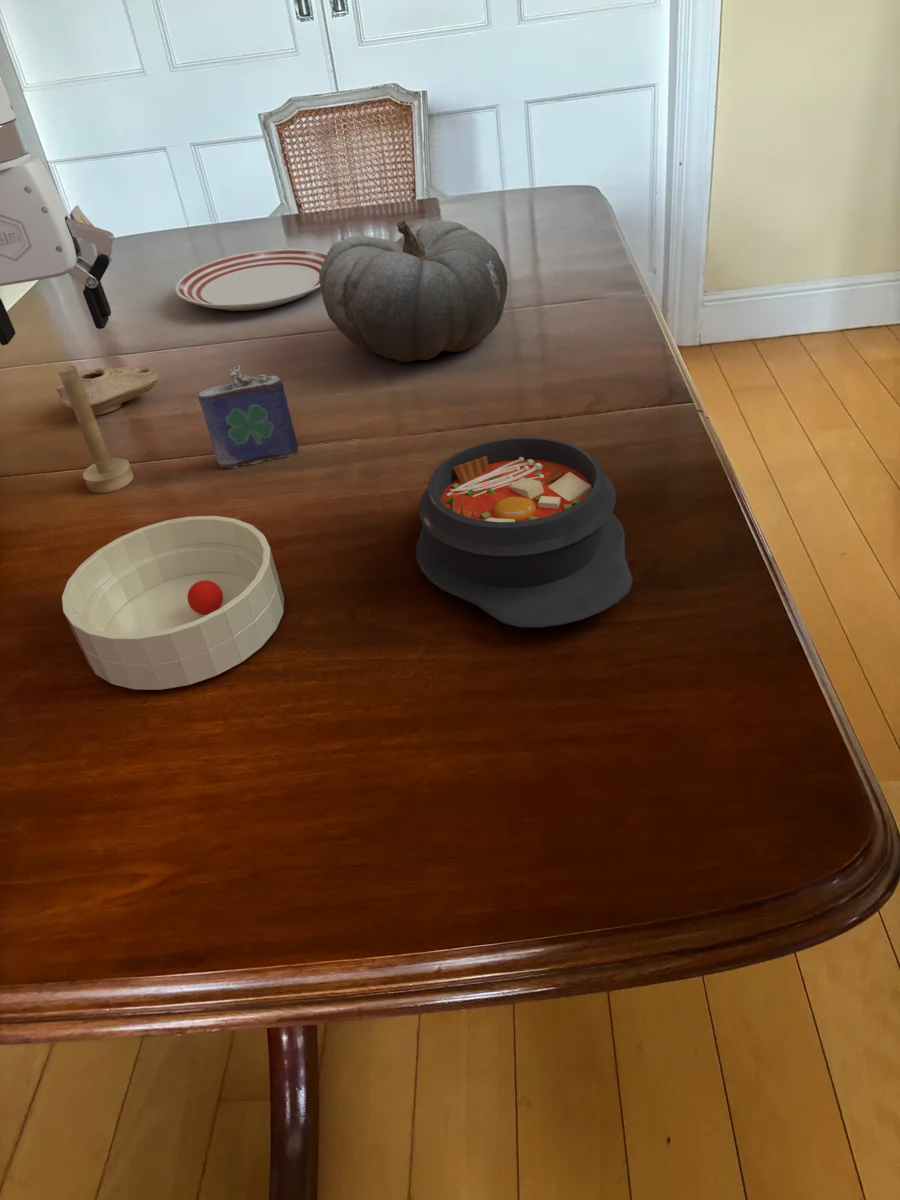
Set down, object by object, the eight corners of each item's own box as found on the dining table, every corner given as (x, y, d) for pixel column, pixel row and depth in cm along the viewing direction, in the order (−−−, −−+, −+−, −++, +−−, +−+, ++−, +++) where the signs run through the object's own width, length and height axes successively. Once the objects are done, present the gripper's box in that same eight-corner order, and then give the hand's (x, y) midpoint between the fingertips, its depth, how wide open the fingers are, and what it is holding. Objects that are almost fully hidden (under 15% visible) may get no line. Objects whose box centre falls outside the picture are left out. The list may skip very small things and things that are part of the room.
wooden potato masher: (83, 496, 100) (35, 382, 91) (92, 474, 104) (47, 362, 96) (130, 489, 100) (86, 374, 92) (137, 467, 104) (96, 355, 96)
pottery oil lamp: (167, 403, 116) (131, 369, 110) (91, 445, 118) (52, 414, 112) (159, 359, 121) (124, 323, 115) (85, 400, 123) (48, 367, 117)
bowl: (69, 711, 71) (39, 654, 68) (107, 585, 85) (84, 533, 81) (283, 675, 72) (266, 617, 68) (287, 556, 85) (272, 502, 82)
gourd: (285, 338, 124) (282, 204, 114) (415, 310, 139) (422, 189, 129) (409, 397, 110) (418, 251, 100) (538, 358, 126) (556, 228, 116)
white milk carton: (79, 269, 174) (60, 215, 168) (85, 259, 179) (67, 206, 173) (98, 266, 174) (80, 212, 168) (104, 256, 179) (86, 203, 173)
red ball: (191, 624, 78) (181, 596, 76) (194, 603, 80) (185, 576, 78) (225, 618, 78) (216, 591, 76) (228, 597, 80) (219, 570, 78)
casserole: (383, 520, 89) (369, 445, 84) (554, 471, 93) (550, 396, 87) (475, 673, 69) (464, 587, 64) (685, 603, 73) (691, 517, 68)
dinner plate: (361, 261, 158) (358, 241, 156) (316, 319, 137) (312, 297, 135) (217, 269, 163) (212, 250, 161) (152, 326, 142) (146, 306, 140)
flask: (218, 471, 101) (192, 382, 94) (218, 459, 103) (192, 371, 97) (300, 455, 102) (279, 366, 95) (298, 444, 104) (277, 356, 98)
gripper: (-130, 174, 78) (-40, 360, 88) (68, 141, 78) (134, 331, 89) (-99, 156, 84) (-18, 333, 94) (85, 126, 84) (145, 305, 95)
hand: (56, 332), depth 91 cm, fingers open, 9 cm apart
